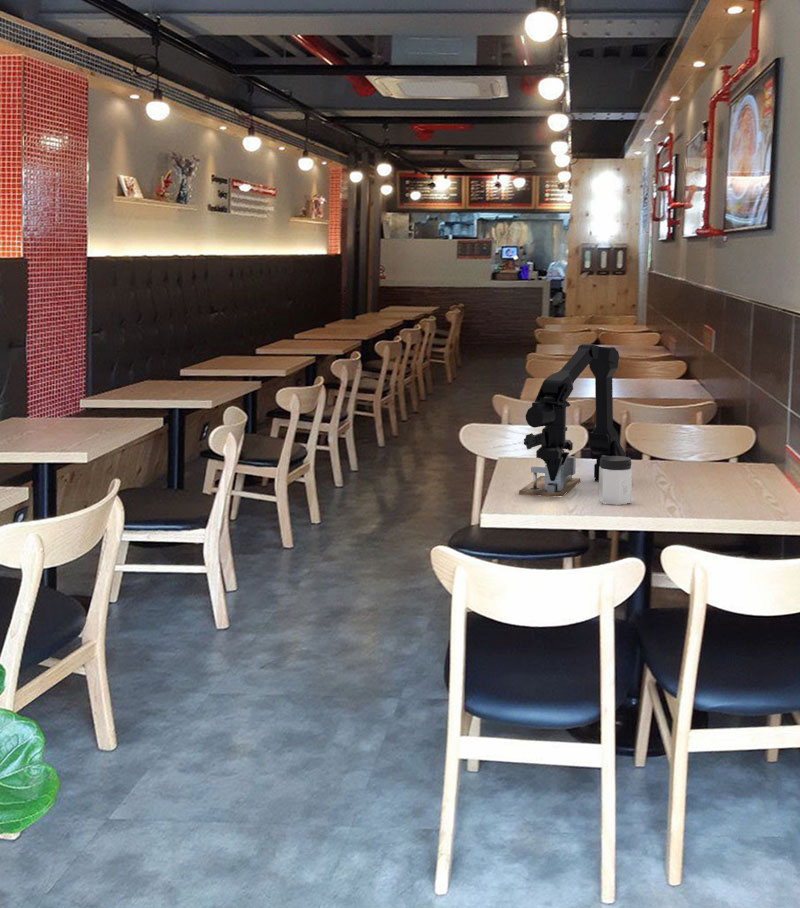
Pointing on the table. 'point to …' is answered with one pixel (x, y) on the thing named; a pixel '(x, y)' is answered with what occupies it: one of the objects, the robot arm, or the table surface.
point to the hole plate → (541, 490)
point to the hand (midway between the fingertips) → (554, 479)
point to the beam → (565, 473)
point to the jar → (615, 480)
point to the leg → (558, 480)
